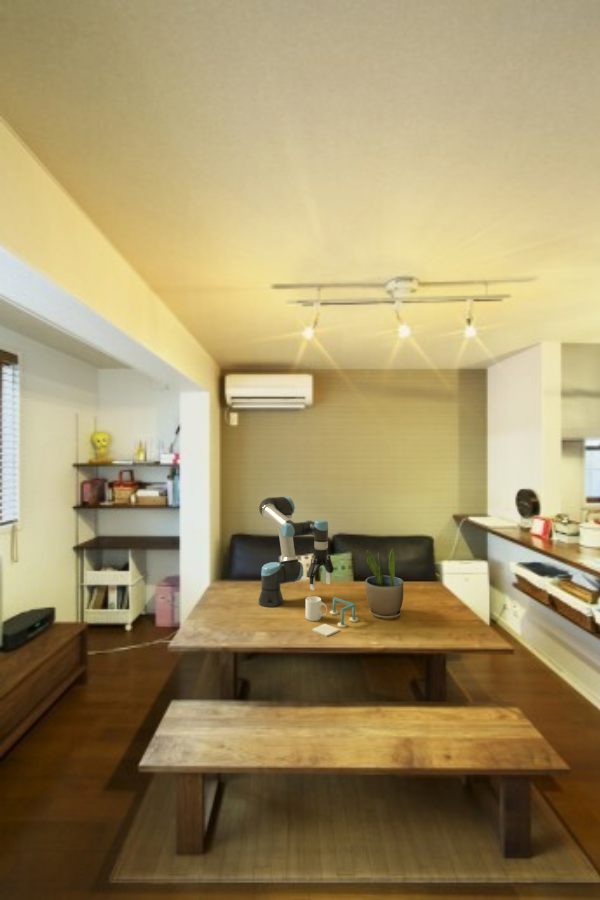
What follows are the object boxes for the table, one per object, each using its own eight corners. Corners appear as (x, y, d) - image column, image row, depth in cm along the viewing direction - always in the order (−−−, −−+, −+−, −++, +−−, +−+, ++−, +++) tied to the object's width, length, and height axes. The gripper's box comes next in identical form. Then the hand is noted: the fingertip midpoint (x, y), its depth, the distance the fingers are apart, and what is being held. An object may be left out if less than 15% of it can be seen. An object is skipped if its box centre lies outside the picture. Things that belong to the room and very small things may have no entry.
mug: (326, 622, 219) (326, 602, 219) (304, 621, 221) (304, 601, 221) (327, 616, 228) (327, 597, 228) (306, 615, 230) (306, 595, 230)
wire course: (316, 618, 225) (316, 601, 225) (333, 610, 236) (333, 595, 236) (342, 628, 212) (343, 611, 212) (360, 620, 222) (360, 603, 222)
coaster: (311, 630, 209) (311, 629, 209) (324, 625, 216) (324, 623, 216) (326, 636, 202) (326, 635, 202) (339, 630, 209) (339, 629, 209)
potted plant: (357, 615, 230) (358, 544, 231) (378, 604, 246) (378, 538, 246) (390, 625, 216) (391, 550, 216) (410, 614, 232) (410, 543, 232)
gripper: (311, 553, 213) (310, 594, 213) (340, 546, 232) (339, 583, 231) (300, 551, 219) (300, 590, 218) (330, 543, 237) (329, 580, 237)
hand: (320, 586), depth 225 cm, fingers open, 13 cm apart
